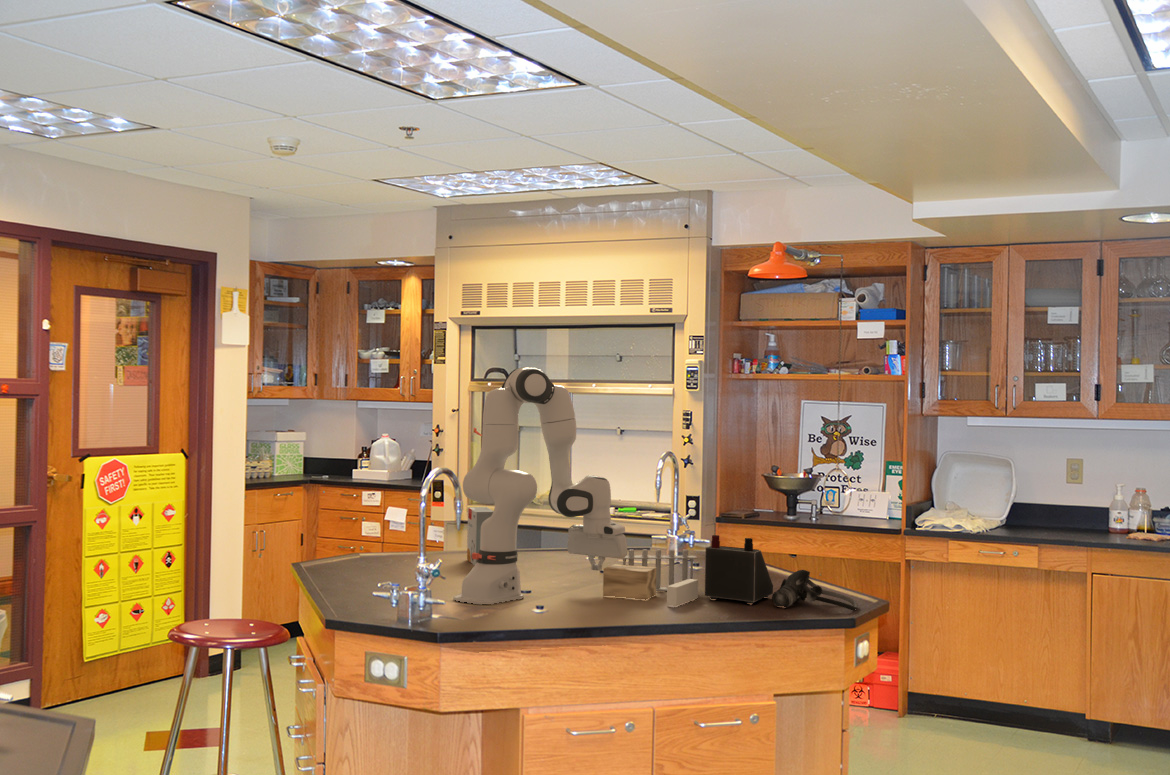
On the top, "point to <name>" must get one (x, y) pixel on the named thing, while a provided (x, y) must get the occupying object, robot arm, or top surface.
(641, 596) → the oak block
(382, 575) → the top surface
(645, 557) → the test tube rack
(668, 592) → the board
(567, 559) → the top surface
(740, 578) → the voltmeter
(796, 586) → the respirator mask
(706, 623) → the top surface
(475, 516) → the hard drive box
